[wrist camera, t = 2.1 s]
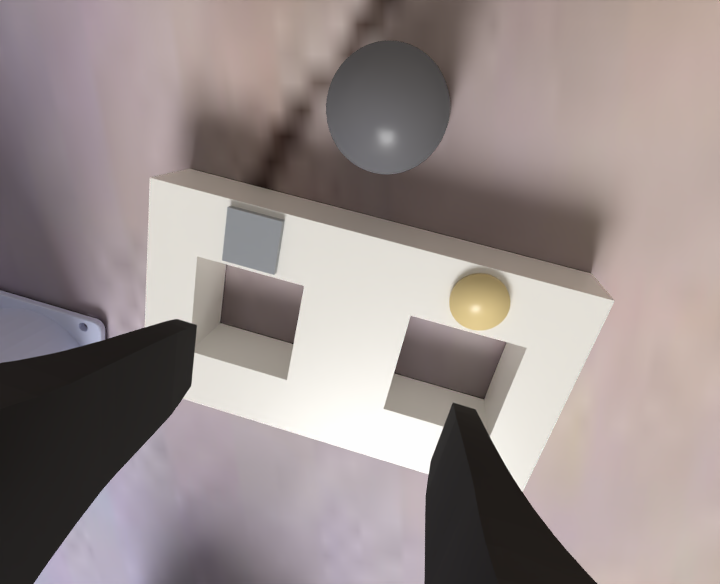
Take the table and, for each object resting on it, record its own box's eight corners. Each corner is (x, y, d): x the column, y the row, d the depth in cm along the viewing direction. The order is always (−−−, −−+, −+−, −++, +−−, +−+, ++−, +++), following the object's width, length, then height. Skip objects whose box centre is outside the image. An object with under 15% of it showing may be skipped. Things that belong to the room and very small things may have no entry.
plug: (361, 141, 19) (316, 158, 13) (379, 56, 18) (339, 27, 11) (437, 160, 19) (430, 187, 12) (460, 75, 18) (466, 56, 11)
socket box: (176, 355, 25) (138, 389, 22) (189, 168, 21) (145, 178, 18) (510, 455, 23) (518, 506, 20) (591, 273, 19) (617, 303, 16)
